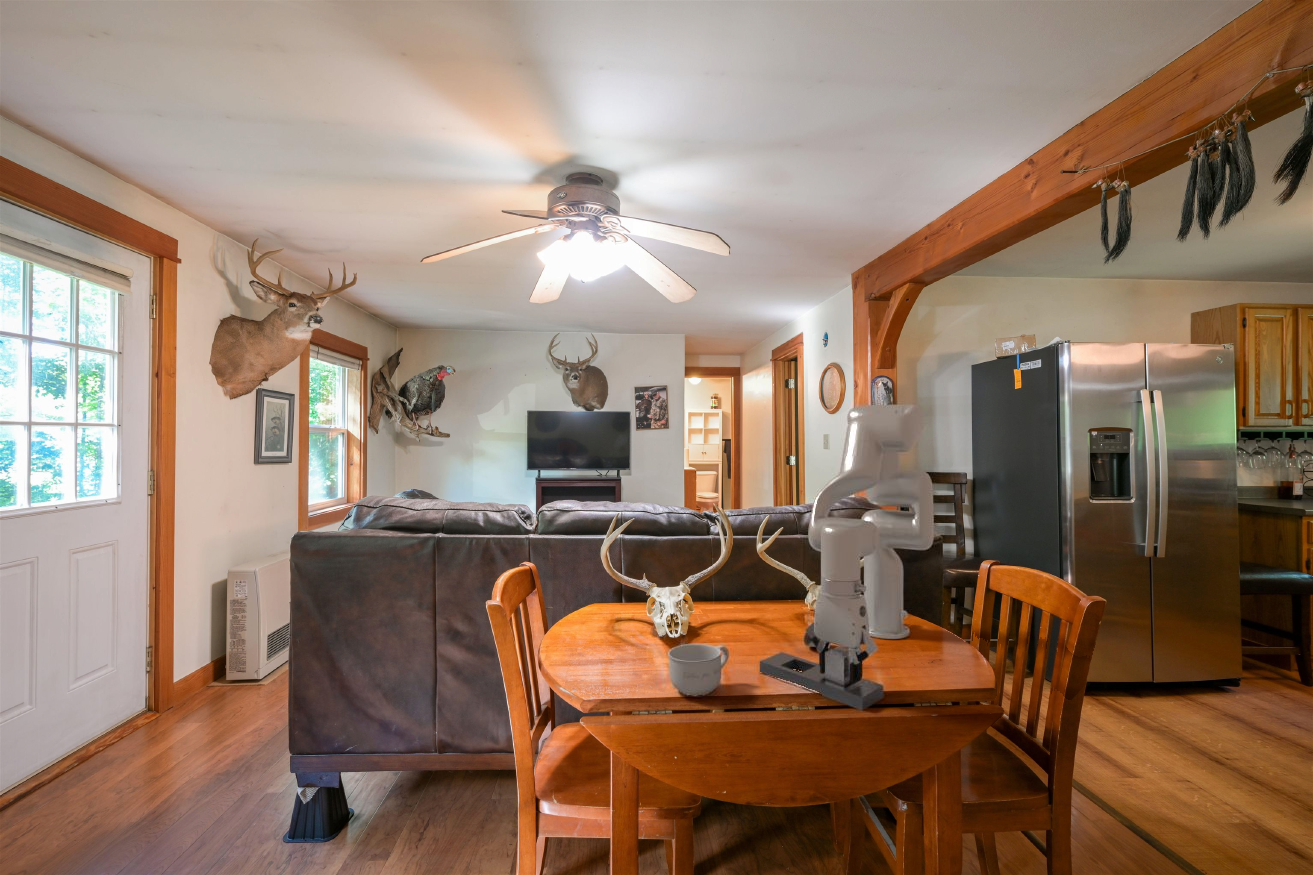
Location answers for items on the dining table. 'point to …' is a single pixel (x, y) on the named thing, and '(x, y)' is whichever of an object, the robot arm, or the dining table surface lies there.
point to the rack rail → (821, 681)
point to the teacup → (696, 667)
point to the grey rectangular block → (838, 666)
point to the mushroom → (809, 641)
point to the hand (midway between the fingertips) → (840, 675)
